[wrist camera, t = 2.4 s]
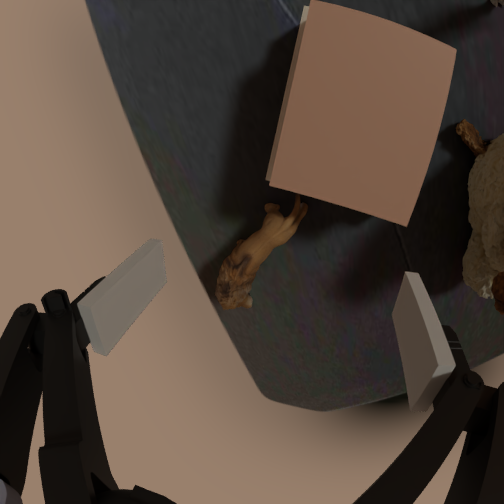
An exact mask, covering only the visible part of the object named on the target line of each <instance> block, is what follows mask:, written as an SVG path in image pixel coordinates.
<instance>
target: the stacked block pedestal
mask: <svg viewBox="0 0 504 504" xmlns="http://www.w3.org/2000/svg"><path fill="white" fill-rule="evenodd" d="M456 50H457V49H455V48H453V47H451V46H449V45H446V44H444V43H442V42H440V41H438V40H436V39H434V38H431V37H429V36H427V35H425V34H422V33H420V32H418V31H415V30H413V29H410V28H408V27H405V26H402V25H400V24H397V23H394V22H392V21H389V20H386V19H383V18H380V17H377V16H374V15H371V14H367V13H364V12H361V11H357V10H354V9H350V8H346V7H342V6H338V5H334V4H330V3H326V2H321V1H316V0H311V2H310V6H309V7H308V6H304V9H303V13H302V18H301V22H300V27H299V31H298V36H297V40H296V45H295V49H294V54H293V58H292V62H291V67H290V71H289V76H288V80H287V85H286V89H285V94H284V98H283V103H282V107H281V112H280V116H279V121H278V125H277V130H276V134H275V139H274V143H273V148H272V152H271V157H270V161H269V166H268V170H267V175H266V180H268V181H270V184H269V186H273V187H276V188H280V189H284V190H288V191H292V192H295V193H299V194H302V195H306V196H310V197H313V198H317V199H320V200H324V201H327V202H330V203H334V204H337V205H341V206H344V207H347V208H350V209H354V210H357V211H360V212H363V213H367V214H370V215H373V216H376V217H379V218H382V219H385V220H388V221H391V222H394V223H397V224H400V225H403V226H406V227H407V224H408V222H409V219H410V217H411V214H412V212H413V209H414V206H415V204H416V201H417V198H418V195H419V192H420V190H421V187H422V184H423V181H424V178H425V175H426V172H427V169H428V166H429V163H430V159H431V156H432V153H433V150H434V146H435V143H436V139H437V136H438V132H439V129H440V125H441V121H442V117H443V113H444V109H445V105H446V101H447V96H448V92H449V87H450V83H451V78H452V73H453V67H454V62H455V56H456Z"/></svg>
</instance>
